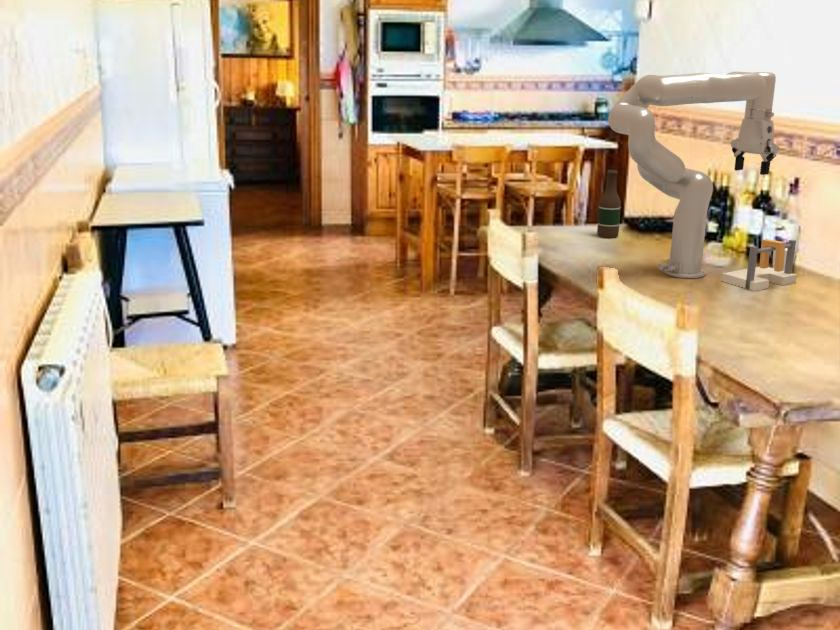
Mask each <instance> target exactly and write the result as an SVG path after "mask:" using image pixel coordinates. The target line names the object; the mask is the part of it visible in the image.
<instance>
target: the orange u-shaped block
mask: <svg viewBox="0 0 840 630" xmlns="http://www.w3.org/2000/svg"><path fill="white" fill-rule="evenodd" d="M760 244H761V245H760V249H761V248H767V247H774V248H776V254H775V266H774V271H777V272H780V271H783V266H784V254H785V244H787V243H786V242H784V241H780V240H773V239H770V238H769V239H768V238H764V239H761V243H760ZM770 252H771V251H768V252H762V253H760V256H759V257H760V258H759V266H760V267H759V266H758V267H759V268H763V269H764V268H768V267H769V265H770V263H769V262H770Z"/></svg>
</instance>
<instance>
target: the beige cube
mask: <svg viewBox="0 0 840 630" xmlns="http://www.w3.org/2000/svg"><path fill="white" fill-rule="evenodd" d="M797 251H798V250H797V247H795V254H794V261H793V264H794V263H795V259H796V255H797ZM775 254H776V250H774V251H772V256H773V257H772V268H774V266H775ZM786 256H787V248H785V254H784V266H783V271H785V263H786Z"/></svg>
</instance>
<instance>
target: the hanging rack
mask: <svg viewBox="0 0 840 630" xmlns="http://www.w3.org/2000/svg"><path fill="white" fill-rule="evenodd" d="M787 241H788V243H785V248H787V256H786V263H785V271H780V272H777V271H774V268H773V267H770V266H768V268H764V269H763V268H759V267H760V265H759V266H757V260H758V259H757V258H758V254H761V253H762V252H768V251H770V252H773V251H774V250H776V248H774V247H767V248H761V247H760V248H759V246H755V245H753V246H752V245H751V246H749V254H748V263H747V268H744V269H738V270H733V271H729V272H727V271H726V272H722V276H721V282H722V281H723V283H726V284H729V285H732V284H733V286H735V285H736V287H739V286H740V288H742V287H743V289H745V288H746V290H749V291H752V292H757V291H763V290H768V289H769V286H770V283H773V284H776V285H780V286H785V285H791V284H796V282H797V275H798V274H796V273H793V268H794V267H793V266H794V263H793V261H794V262H795V259H794V254H795V248H796V244H797V240H796V239H789V240H787Z"/></svg>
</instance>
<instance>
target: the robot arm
mask: <svg viewBox="0 0 840 630" xmlns="http://www.w3.org/2000/svg"><path fill="white" fill-rule="evenodd" d="M775 89H776V74H775V73H773V72H769V71H767V72H766V71H763V72H762V71H755V72H750V71H748V72H747V71H730V72H728V73H726V74H718V73H717V74H716V73H707V72H706V73H702V72H701V73H700V72H697V73H696V72H695V73H688V74H687V73H685V74H672V75H670V74H669V75H657V74H646V75H645V76H641V78H639V79H638V80H637V81H636V82H634V84H633V85H632V86H631V87H630V88H629V89H628V90H627V92H625V93H624V95H623V96H622V97H621V98H620V99H619V100H618V101H617V102H616V103H615V104H614V105H613V107H612V108H611V109H610V112H609V114H608V119H607V121H608V125H609V127H610V128H611V130H612V131H614V132H615V133H618V134H621V135H627V136H628V141H627V143H628V144H627V145H628V152H629V156H630V158H631V159H632V160H633V161H634V162H635V163H636V164H637V165H636V166H637V170H638V174H639V175H640V177H641V178H642V179H644V180H645V181H646V182H648V183H649V184H650V185H652V186H653V187H654V188H655V189H657V190H658V191H659V192H661V193H663V194H665V195H666V196H668V197H670V198H673V199H676V200H679V202H678V204H677V206H676V208H675V209H674V214H673V220H672V233H671V242H670V243H671V245H670V255H669V258H667V260H666V262H665V263H660V264H658V266H657V268H658V270H660V271H663V273H664V274H666V275H667V276H669V277H675V278H682V279H699V278H702V277H705V276H706V275H707V270H706V269H705V268H702V265H703V264H702V263H703V255H704V245H705V236H706V235H705V234H706V226H707V216H708V209H709V205H710V201H711V198H712V196H713V192H714V184H713V181H712V179H711V178H710V176H709V175H707V174H706V173H704V172H702V171H699V170H695V169H691V168H687V167H686V165H685V163H684V160H683V159H682V158H681V157H680V156H678V155H677V154H675V152H672V151H671V150H670V149H668V148H667V147H666V146H664V145H663V144H662V143H661V142H659V140H657V137H656V134H655V133H656V131H655V130H656V129H655V128H656V120H655V116H654V114H653V112H652V111H651V110H650V109H649V106H657V107H669V106H670V107H671V106H673V107H674V106H683V105H693V104H694V105H695V104H714V103H716V104H717V103H724V102H725V103H731V102H732V103H733V102H744V101H745V108H744V118H743V119H742V121H741V124H740V127H739V128H740V129H739V132H738V137H737V138H736V139H733V140H732V141H730V146H731V151H732V153H733V157H734V158H735V162H734V171H742V170H744V166H745V156H744V155H745V154H746V153H747V154H753V155H760V157H761V158H762V161H761V162H760V170H759V174H760V175H761V176H765V175H769V173H770V167H771V162H773V159H775V158H776V156H777V154H778V152H779V150H780V147H779V146H778V145H777V144H776V143H774V142H775V139H774V138H775V127H774V120H772V118H773V117H774V116H775V114H774V112H773V105H774V95H775Z"/></svg>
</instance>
